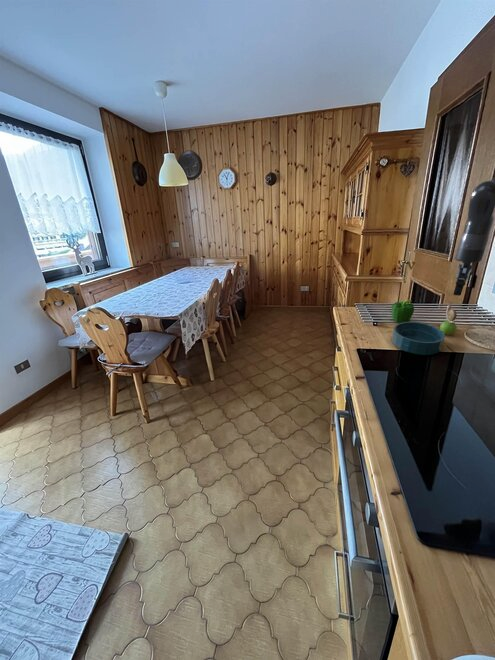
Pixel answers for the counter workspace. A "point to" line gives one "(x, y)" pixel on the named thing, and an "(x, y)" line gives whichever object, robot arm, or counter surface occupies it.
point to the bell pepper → (402, 311)
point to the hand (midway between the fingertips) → (457, 291)
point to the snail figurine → (449, 321)
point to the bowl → (418, 338)
